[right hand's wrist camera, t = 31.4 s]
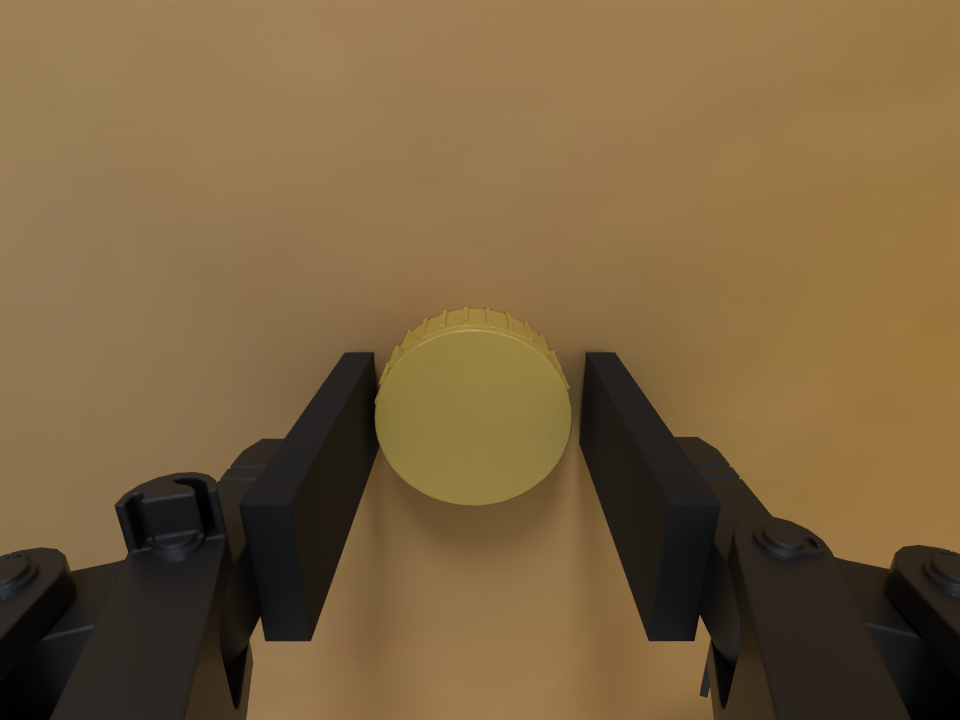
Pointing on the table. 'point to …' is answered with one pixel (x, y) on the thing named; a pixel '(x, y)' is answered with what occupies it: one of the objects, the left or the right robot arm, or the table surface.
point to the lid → (473, 408)
